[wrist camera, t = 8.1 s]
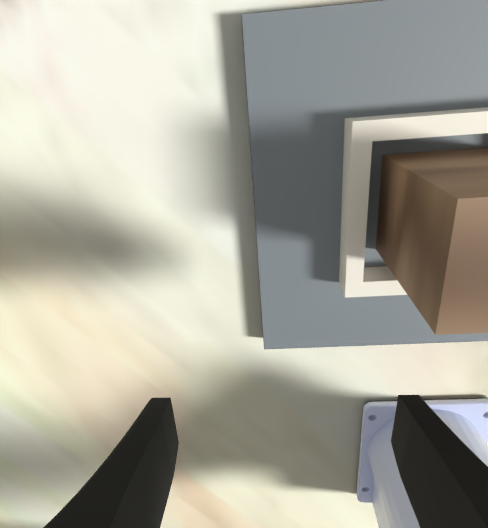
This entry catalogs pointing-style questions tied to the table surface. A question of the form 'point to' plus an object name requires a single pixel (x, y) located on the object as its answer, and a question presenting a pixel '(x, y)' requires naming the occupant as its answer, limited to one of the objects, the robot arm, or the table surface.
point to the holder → (351, 154)
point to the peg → (438, 234)
